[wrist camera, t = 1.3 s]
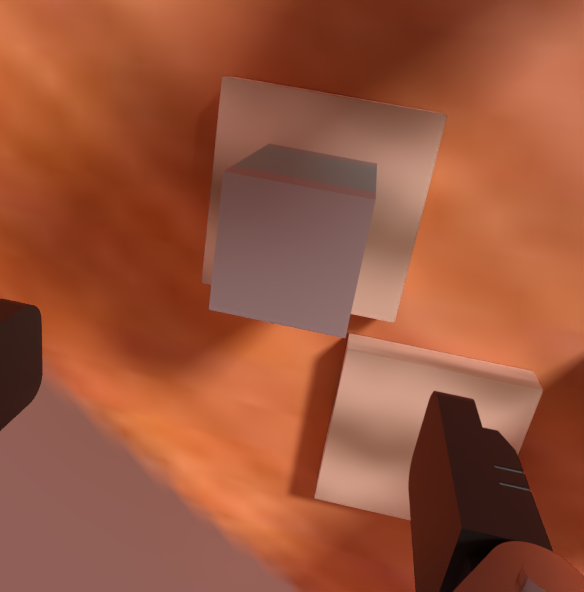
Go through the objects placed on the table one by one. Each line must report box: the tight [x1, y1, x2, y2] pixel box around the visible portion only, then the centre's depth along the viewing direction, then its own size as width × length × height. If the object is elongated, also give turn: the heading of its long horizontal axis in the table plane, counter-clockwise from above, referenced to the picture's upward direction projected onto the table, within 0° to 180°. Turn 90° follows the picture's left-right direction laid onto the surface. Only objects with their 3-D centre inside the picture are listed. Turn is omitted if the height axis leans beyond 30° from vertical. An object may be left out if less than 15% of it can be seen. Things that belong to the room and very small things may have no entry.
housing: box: [209, 144, 377, 338], centre depth 22 cm, size 5×5×8 cm
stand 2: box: [314, 333, 543, 521], centre depth 31 cm, size 10×10×2 cm
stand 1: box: [201, 76, 447, 323], centre depth 27 cm, size 10×10×2 cm
